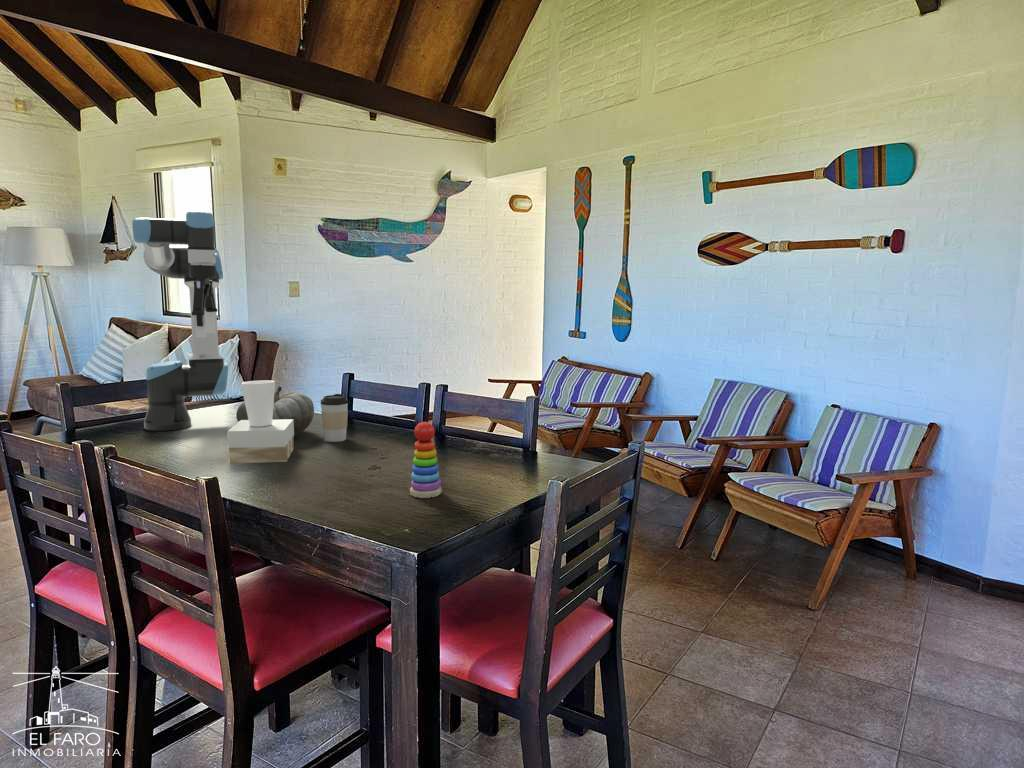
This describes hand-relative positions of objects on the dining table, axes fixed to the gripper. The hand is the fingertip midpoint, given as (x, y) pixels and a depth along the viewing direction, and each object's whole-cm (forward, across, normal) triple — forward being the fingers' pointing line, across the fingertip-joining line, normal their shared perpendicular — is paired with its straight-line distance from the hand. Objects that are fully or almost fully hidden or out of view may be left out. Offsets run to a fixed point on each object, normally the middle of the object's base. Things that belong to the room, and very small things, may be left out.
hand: (206, 335), depth 210 cm
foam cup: (+26, -10, -16) cm, 33 cm away
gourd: (+36, +16, -17) cm, 43 cm away
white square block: (+31, -10, -16) cm, 37 cm away
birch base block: (+36, -11, -16) cm, 41 cm away
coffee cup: (+36, +8, -37) cm, 52 cm away
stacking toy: (+35, -57, -62) cm, 91 cm away
